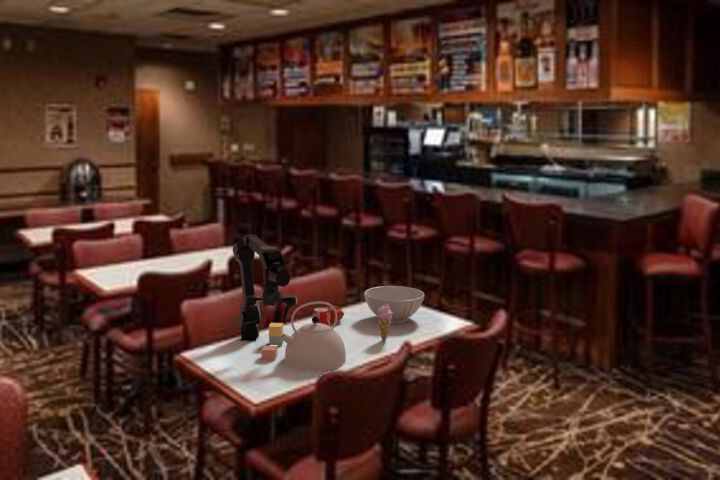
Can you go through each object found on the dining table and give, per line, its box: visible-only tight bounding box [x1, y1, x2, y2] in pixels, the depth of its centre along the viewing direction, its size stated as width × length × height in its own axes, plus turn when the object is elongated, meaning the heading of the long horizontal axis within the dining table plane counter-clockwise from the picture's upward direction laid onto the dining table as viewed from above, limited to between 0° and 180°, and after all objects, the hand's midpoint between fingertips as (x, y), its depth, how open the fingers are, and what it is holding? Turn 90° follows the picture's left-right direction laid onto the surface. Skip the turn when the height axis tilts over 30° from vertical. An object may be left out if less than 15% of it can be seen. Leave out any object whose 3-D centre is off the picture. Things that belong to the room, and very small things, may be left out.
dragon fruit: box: [324, 305, 345, 325], centre depth 298 cm, size 8×8×12 cm
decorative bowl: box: [363, 285, 425, 324], centre depth 304 cm, size 27×27×12 cm
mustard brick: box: [268, 322, 284, 337], centre depth 269 cm, size 5×5×4 cm
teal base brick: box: [268, 335, 284, 347], centre depth 270 cm, size 5×5×4 cm
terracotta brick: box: [260, 345, 278, 361], centre depth 254 cm, size 5×5×4 cm
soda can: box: [312, 307, 331, 327], centre depth 277 cm, size 7×7×12 cm
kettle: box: [280, 301, 347, 372], centre depth 250 cm, size 25×23×22 cm
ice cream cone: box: [375, 304, 393, 342], centre depth 274 cm, size 7×6×15 cm
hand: (272, 322), depth 256 cm, fingers open, 9 cm apart
